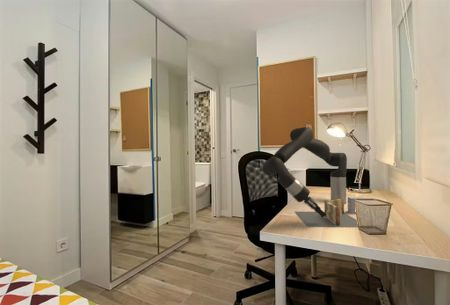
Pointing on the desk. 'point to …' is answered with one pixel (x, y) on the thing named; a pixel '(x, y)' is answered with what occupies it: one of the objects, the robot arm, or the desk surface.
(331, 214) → the fence swing section
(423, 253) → the desk surface
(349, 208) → the medicine box
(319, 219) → the board
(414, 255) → the desk surface
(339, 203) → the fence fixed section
